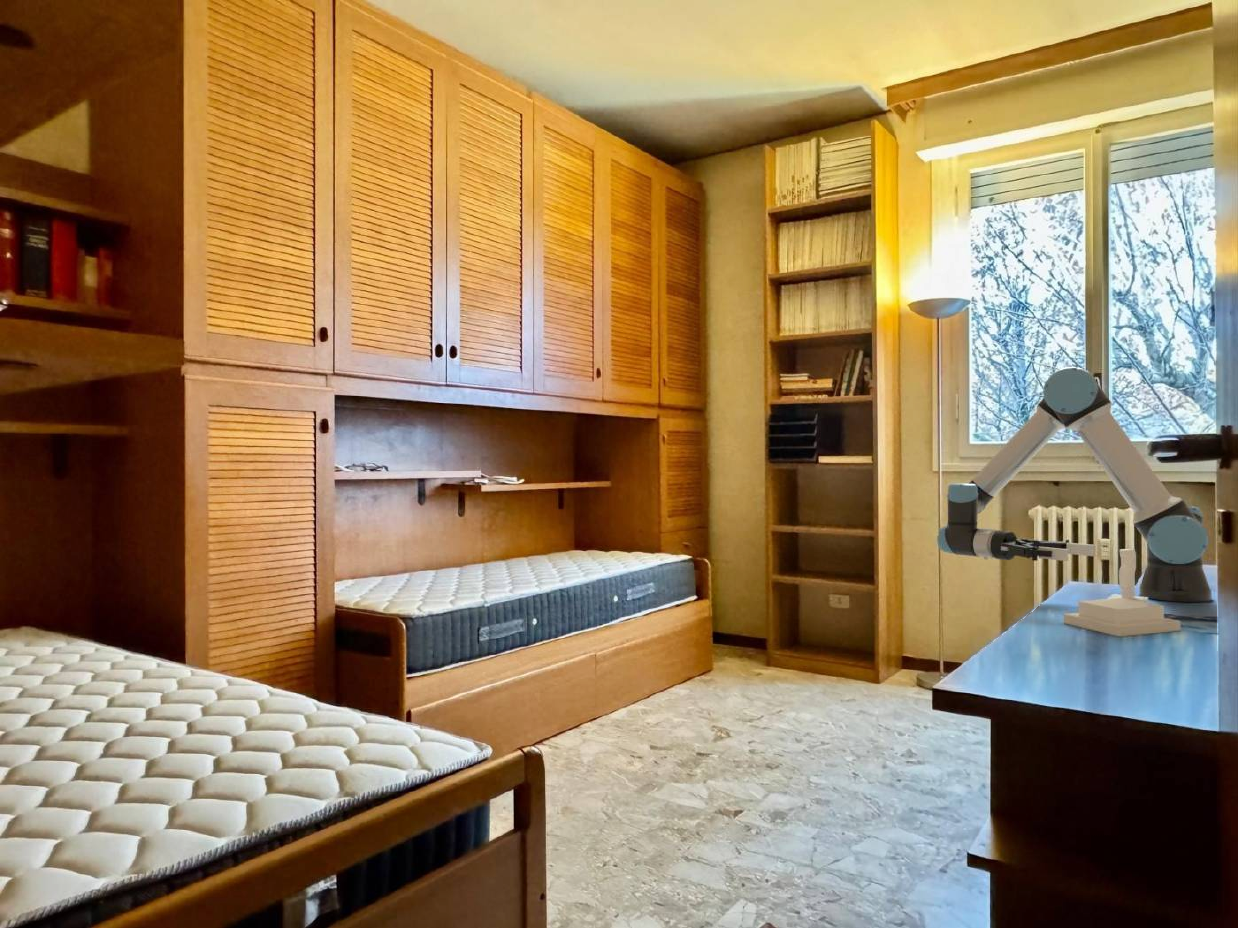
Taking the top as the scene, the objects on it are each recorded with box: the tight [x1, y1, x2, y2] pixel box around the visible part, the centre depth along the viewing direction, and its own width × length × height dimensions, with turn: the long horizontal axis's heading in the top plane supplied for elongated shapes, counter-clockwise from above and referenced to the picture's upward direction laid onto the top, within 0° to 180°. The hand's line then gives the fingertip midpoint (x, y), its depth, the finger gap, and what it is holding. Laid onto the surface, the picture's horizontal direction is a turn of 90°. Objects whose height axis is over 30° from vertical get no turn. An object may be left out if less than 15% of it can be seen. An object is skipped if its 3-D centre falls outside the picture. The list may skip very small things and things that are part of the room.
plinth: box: [1063, 598, 1181, 637], centre depth 172 cm, size 16×14×5 cm
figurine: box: [1107, 548, 1150, 602], centre depth 185 cm, size 7×9×15 cm
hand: (1081, 552), depth 193 cm, fingers open, 13 cm apart
